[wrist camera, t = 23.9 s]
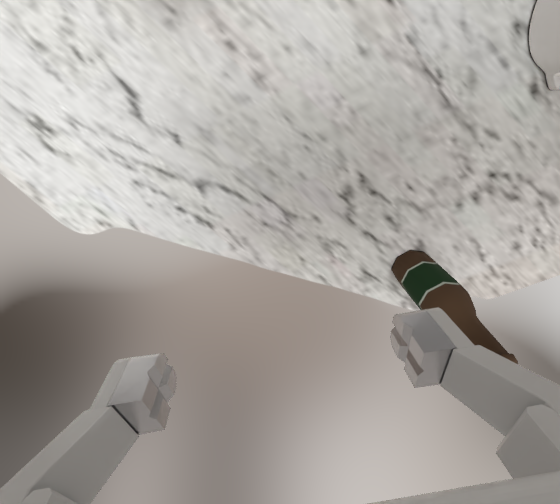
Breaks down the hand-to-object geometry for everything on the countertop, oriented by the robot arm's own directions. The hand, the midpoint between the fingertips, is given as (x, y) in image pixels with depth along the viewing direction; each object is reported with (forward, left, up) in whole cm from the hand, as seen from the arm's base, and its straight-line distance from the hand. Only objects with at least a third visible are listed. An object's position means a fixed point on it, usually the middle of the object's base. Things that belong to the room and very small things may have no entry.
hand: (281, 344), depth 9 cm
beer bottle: (-27, +26, -35) cm, 51 cm away
